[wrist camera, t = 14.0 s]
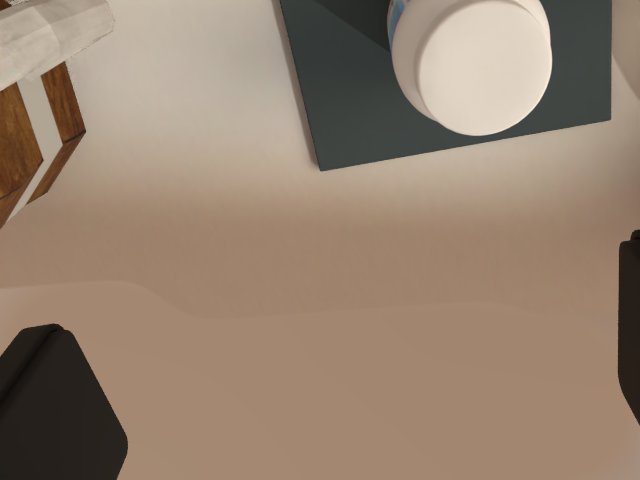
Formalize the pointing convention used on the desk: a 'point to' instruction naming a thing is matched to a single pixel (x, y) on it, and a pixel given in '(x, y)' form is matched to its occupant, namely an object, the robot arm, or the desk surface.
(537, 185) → the desk surface
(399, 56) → the pill bottle
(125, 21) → the desk surface
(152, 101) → the desk surface
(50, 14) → the mug
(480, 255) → the desk surface
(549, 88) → the mat
